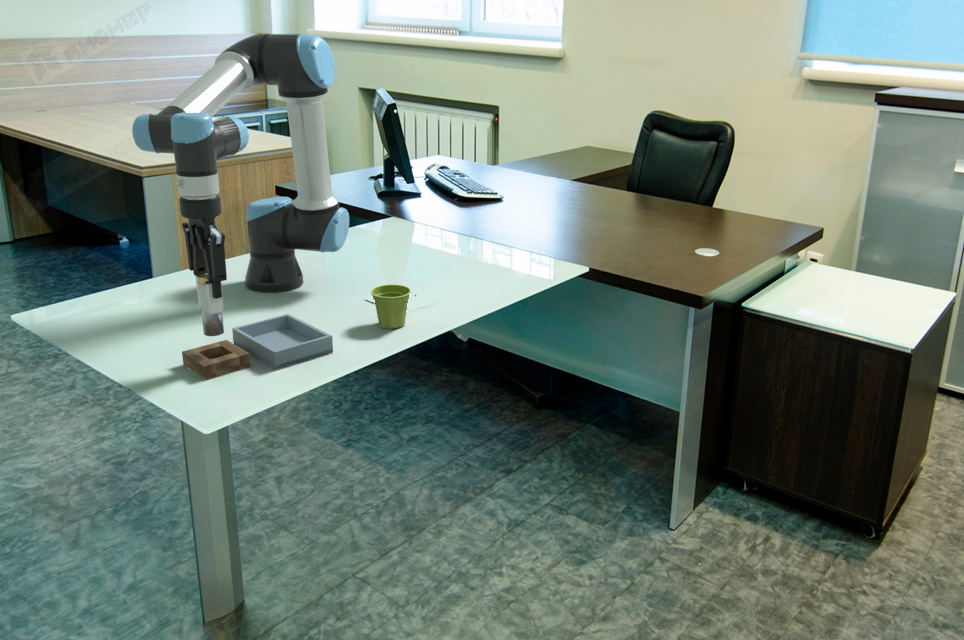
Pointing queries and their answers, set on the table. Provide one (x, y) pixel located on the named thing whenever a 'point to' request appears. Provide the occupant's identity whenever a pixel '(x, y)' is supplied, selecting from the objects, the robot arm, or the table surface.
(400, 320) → the plant pot
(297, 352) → the tray
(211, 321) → the pin
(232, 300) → the table surface
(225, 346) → the socket block
